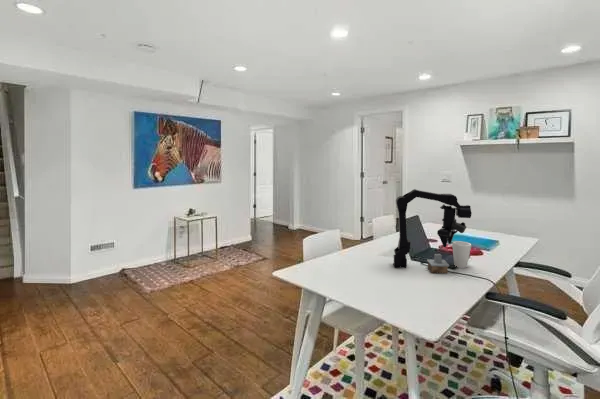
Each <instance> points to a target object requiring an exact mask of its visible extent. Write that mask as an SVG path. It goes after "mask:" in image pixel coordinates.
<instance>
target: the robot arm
mask: <svg viewBox="0 0 600 399" xmlns="http://www.w3.org/2000/svg"><path fill="white" fill-rule="evenodd" d="M416 198H421V199H425V200H431V201H436V202H439V203H442V205H441V206H440V207H439V208H440V209H441V210H443V218H441V221H442V226H441V228H440V229H438V230H437V233H436V234H437V236H438V237H439V240H440V241H441V244H442V247H443V248H446V247H447V244H450V245H451V244H452V243H453V238H454V236H455V235H456V233H458V232H459V233H460V234H463V233H465V230H466V229H467V226H466V223H465V222H457V219H456V217H458V218H459V219H471V217H472V208H471V205H469V204H467V205H461V204H460V203H459V202H458V198H457V196H456V195H454V194H453V193H435V192H429V191H424V190H420V189H419V190H418V189H416V188H414V189H412V190H411V191H409V192H407V193H405V194H404V195H399V196H398V197H397V198H395V204H396V209H397V211H398V226H399V227H398V228H399V229H398V231H399V238H398V243H397V247H395V248H394V249H393V251H394V254H393V263H392V265H393V268H397V269H398V268H399V269H400V268H401V269H407V265H408V263H407V262H408V260H407V255H408V254H409V253H410V252H411V251H410V250H412V249H411V241H410V238H409V239H408V236H407V209H408V204H409V203H410V202H412V201H413V200H414V199H416Z"/></svg>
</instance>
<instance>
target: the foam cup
mask: <svg viewBox="0 0 600 399" xmlns="http://www.w3.org/2000/svg"><path fill="white" fill-rule="evenodd" d="M451 244H452V245H451V246H452V253H453V254H452V255H453V263H454V265H455V266H454V267H456V266H457V267H456V268H460V269H461V268H462V269H465V268H466V269H467V267H468V264H469V259H470V255H471V254H470V253H471V250H472V244H471V243H470V242H467V241H459V240H458V241H452V242H451Z"/></svg>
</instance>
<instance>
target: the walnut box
mask: <svg viewBox="0 0 600 399" xmlns="http://www.w3.org/2000/svg"><path fill="white" fill-rule="evenodd" d="M448 268H449V267H446V266H431V265H430V264H429V263H428V262H427V269H428V270H429V272H430V273H431V274H446V275H447V274H448V271H449V269H448Z"/></svg>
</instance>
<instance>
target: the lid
mask: <svg viewBox="0 0 600 399" xmlns="http://www.w3.org/2000/svg"><path fill="white" fill-rule="evenodd" d="M433 257H434V258H433V259H426V262H427V264H428V263H429V264H430V265H431V266H446V267H448V268H449V267H450V264H449V263H448V262H447V261H446V260H445V259H443V258H442V257H443V255H442V254H441V253H434V256H433Z"/></svg>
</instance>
